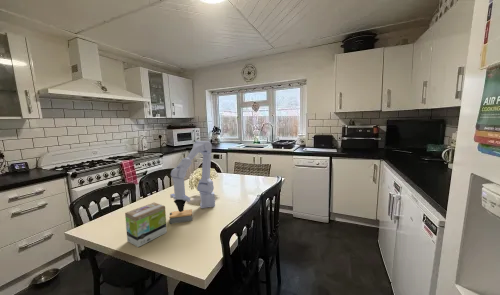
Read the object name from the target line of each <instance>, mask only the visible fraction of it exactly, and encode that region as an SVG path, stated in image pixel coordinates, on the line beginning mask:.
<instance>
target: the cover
mask: <svg viewBox="0 0 500 295" xmlns="http://www.w3.org/2000/svg"><path fill="white" fill-rule="evenodd" d="M191 215H192V216H193V209H184V210H183V211H182V212H179V210H176V211H170V212H169V216H168V217H169V219H170V218H175V217H183V216H191Z"/></svg>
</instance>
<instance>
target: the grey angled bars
mask: <svg viewBox="0 0 500 295" xmlns="http://www.w3.org/2000/svg"><path fill="white" fill-rule="evenodd" d="M192 221H193V214H192V215H191V216H183V217H175V218H169V224H170V225H172V224H177V223H178V224H180V223H185V222H192Z"/></svg>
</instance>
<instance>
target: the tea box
mask: <svg viewBox="0 0 500 295" xmlns="http://www.w3.org/2000/svg"><path fill="white" fill-rule="evenodd" d="M124 214H125V215H124V216H125V217H124V218H125V229H126V240H127V242H128V243H130V245H131V244H132V245H134V246H135V247H137V248H139V247H141V246H144V245H146V244H147V243H149V242H151V241H153V240H155V239H156V238H158V237H161V236H163V235H165V234H167V217H166V216H167V213H166V206H165V205H162V204H160V203H157V202H151V203H148V204H146V205H143V206H141V207H137V208H135V209H132V210H129V211H126V212H125V213H124Z"/></svg>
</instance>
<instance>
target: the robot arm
mask: <svg viewBox="0 0 500 295" xmlns="http://www.w3.org/2000/svg"><path fill="white" fill-rule="evenodd" d="M212 147H213V146H212V143H211V142H210V140H195V142H194V143H193V144H192V149H191V150H190V151H189V153H188V155H187V156H186V157H182V158H181V160H180V161H179V163H178V165H177V166H176V167H175V168H173V169H171V171H170V177H171V178H172V181H173V191H174V193H171V194H169V195H170V199H172V198H173V202H174V203H175V205H176V207H177V209H178V210H177V211H179V212H182V211H183V210H185V204H186V203H190V202H192V201H191V197H190V196H187V194H186V189H185V177H186V175H187V171H188V170H189V168H190V167H191V165H192V163H193V162H192V161H193V159H194V158H195V157H196V156H197V155H198V154H199V153H201V154H202V166H201V178H200V179H199V180H198V184H197V185H196V186H197V188H196V189H197V191H198V192H199V195H200V204H199V205H200V209H205V208H214V207H216V199H215V198H216V196H215V191H214V188H215V187H214V182H213V180H212V179H211V162H212V149H213V148H212Z"/></svg>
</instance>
